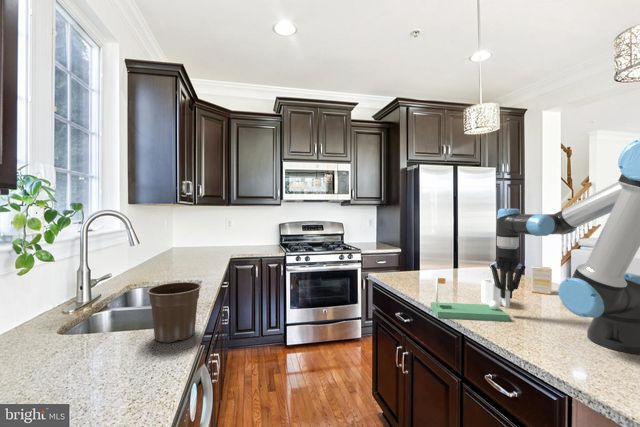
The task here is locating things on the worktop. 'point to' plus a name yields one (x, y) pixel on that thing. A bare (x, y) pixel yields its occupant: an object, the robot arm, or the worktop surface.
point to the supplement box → (541, 279)
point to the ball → (493, 305)
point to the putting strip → (466, 309)
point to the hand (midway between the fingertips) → (505, 306)
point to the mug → (490, 292)
